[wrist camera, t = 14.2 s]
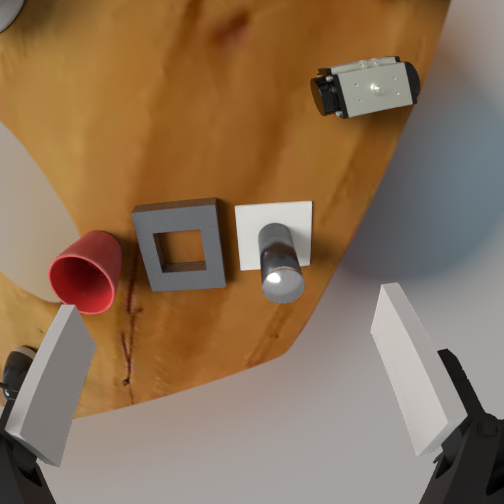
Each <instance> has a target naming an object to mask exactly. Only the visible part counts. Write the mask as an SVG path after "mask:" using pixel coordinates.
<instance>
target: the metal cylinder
mask: <svg viewBox="0 0 504 504" xmlns="http://www.w3.org/2000/svg"><path fill="white" fill-rule="evenodd" d="M258 246H259V256H260V267H261V277H262V288H263V293H264V295H265V297H266V298H267V299H268V300H270V301H272V302H274V303H280V304H284V303H289V302H292V301H294V300H296V299H297V298H299V297H300V296H301V294H302V293H303V291H304V287H305V284H304V280H303V276H302V272H301V268H300V265H299V261H298V257H297V254H296V250H295V247H294V243H293V239H292V236H291V233H290V230H289V229H288V228H287V227H286V226H285V225H283V224H281V223H270V224H267V225H265V226H264V227H263V228H262V229H261V230H260V232H259V234H258Z"/></svg>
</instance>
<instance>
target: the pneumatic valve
mask: <svg viewBox="0 0 504 504" xmlns="http://www.w3.org/2000/svg"><path fill="white" fill-rule="evenodd" d="M318 71H319V73H318V74H317V75H318V76H317V77H316V78H312V79H311V81H310V85H311V91H312V95H313V98H314V101H315V104H316V106H317V108H318V110H319V112H320V114H321V115H322V116H327V115H331V114H335V115H336V116H337V117H338V116H339V117H341V118H343V119H345V118H350V117H354V116H358V115H363V114H367V113H372V112H376V111H381V110H386V109H391V108H396V107H401V106H406V105H411V104H417V99H416V96H418V95H419V92H420V80H419V76H418V73H417V71H416V69H415V68H414V66H413V65H412V64H411V63H409V62H407V61H405V62H401V61H400V58H399V56H386V57H379V58H372V59H366V60H360V61H354V62H349V63H344V64H339V65H334V66H329V67H324V68H320V69H318Z"/></svg>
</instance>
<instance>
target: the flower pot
mask: <svg viewBox="0 0 504 504" xmlns="http://www.w3.org/2000/svg"><path fill="white" fill-rule="evenodd" d="M122 257H123V254H122V249H121V246H120V244H119V243H118V241H117V240H116V239H115V238H114V237H113V236H112V235H110V234H108V233H106V232H103V231H91V232H89V233H87V234H85V235H84V236H83V237H81V238H80V239H79V240H78V241H76V242H75V243H74V244H72V245H71V246H70V247H69V248H67V249H66V250H65V251H63V252H62V253H61V254H60V255H59V256H58V257H57V258H55V260H54V261H53V262H52V263H51V265H50V268H49V272H48V278H49V282H50V285H51V288H52V289H53V291H54V293H55V294H56V295H57V297H58V298H59V299H60V300H61V301H62V302H63V303H64V304H66V305H76V308H77V310H78V312H81V313H84V314H99V313H103V312H105V311H106V310H108V309H109V308H110V307H111V306H112V304H113V302H114V300H115V296H116V292H117V287H118V282H119V276H120V270H121V264H122Z"/></svg>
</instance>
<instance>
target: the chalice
mask: <svg viewBox="0 0 504 504" xmlns="http://www.w3.org/2000/svg"><path fill="white" fill-rule="evenodd" d="M23 2H24V0H0V32H1V31H3V30H4V29H5V28H6V27H7V26H8V25H9V24H10V23H11V22H12V21H13V20H14V18H15V17H16V15H17V14H18V13H19V11H20V9H21V7H22V5H23Z"/></svg>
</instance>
